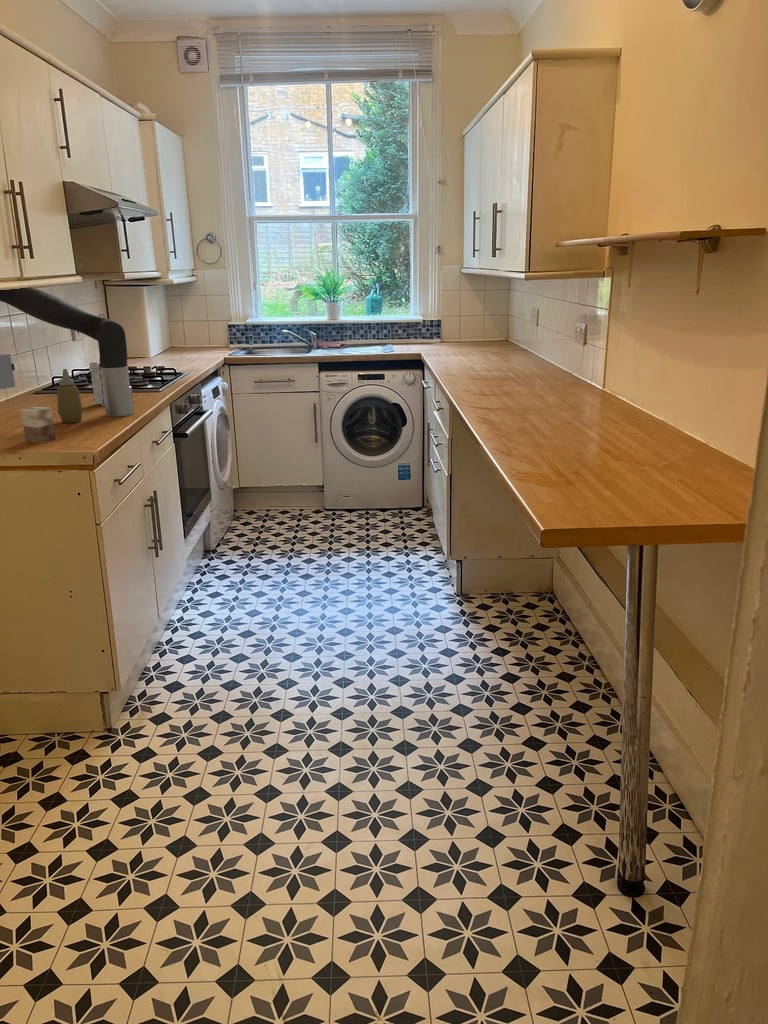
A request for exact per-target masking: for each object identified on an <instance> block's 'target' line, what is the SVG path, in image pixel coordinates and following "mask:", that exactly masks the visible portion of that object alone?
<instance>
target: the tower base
mask: <svg viewBox="0 0 768 1024" xmlns="http://www.w3.org/2000/svg"><path fill="white" fill-rule="evenodd" d="M23 431H24V438H25V442H26V443H30V442H32V444H41V445H42V444H45V443H48V442H52V441H55V440H56V439H57V438H56V432H55V425H54V423H53V424H51V425H47V426H43V427H39V428H36V427H26V426H23Z"/></svg>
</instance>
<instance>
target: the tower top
mask: <svg viewBox="0 0 768 1024" xmlns="http://www.w3.org/2000/svg"><path fill="white" fill-rule="evenodd" d="M20 415H21V421H22V426H23V427H24V426H26V427H36V428H39V427H43V426H47V425H51V424H54V422H53V421H54V420H53V413H52V407H44V406H43V407H42V406H33V407H28V408H23V409H21V410H20Z"/></svg>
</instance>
